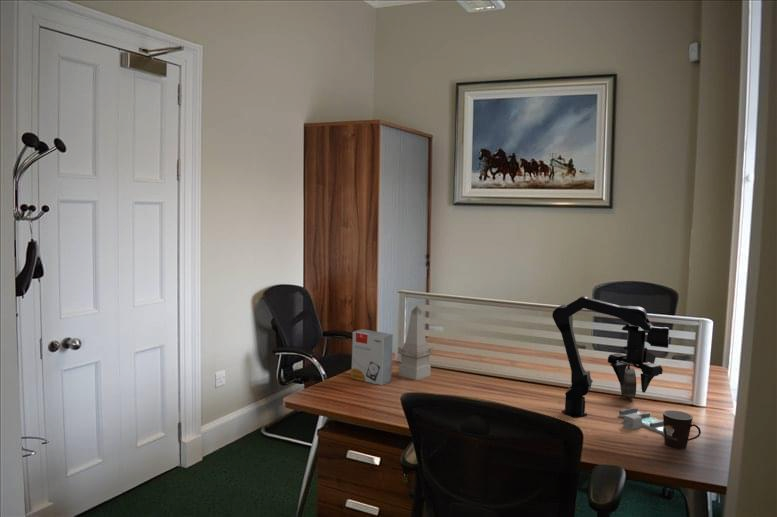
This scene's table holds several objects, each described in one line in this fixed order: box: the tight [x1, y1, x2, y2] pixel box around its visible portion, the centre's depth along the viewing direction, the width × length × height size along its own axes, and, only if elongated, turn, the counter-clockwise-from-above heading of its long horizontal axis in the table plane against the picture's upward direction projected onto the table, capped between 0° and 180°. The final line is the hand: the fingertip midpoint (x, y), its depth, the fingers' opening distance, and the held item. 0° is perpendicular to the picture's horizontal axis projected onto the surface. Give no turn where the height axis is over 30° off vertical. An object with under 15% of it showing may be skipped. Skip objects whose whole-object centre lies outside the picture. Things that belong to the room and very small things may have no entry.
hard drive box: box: [350, 328, 394, 386], centre depth 265 cm, size 16×8×20 cm, turn 58°
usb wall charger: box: [620, 414, 642, 431], centre depth 219 cm, size 4×7×4 cm, turn 123°
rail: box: [618, 407, 664, 436], centre depth 223 cm, size 8×20×2 cm, turn 27°
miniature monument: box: [397, 306, 434, 381], centre depth 273 cm, size 10×10×30 cm
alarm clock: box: [619, 365, 637, 403], centre depth 250 cm, size 11×5×16 cm, turn 168°
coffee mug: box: [662, 409, 702, 450], centre depth 203 cm, size 12×9×10 cm
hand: (632, 388), depth 222 cm, fingers open, 9 cm apart
